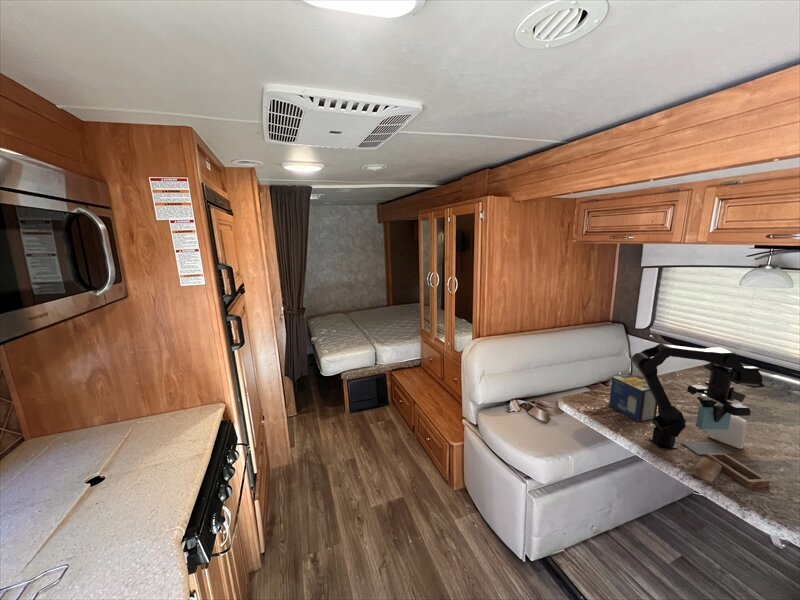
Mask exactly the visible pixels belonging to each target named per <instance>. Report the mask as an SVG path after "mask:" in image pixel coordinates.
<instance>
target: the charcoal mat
mask: <svg viewBox="0 0 800 600" xmlns="http://www.w3.org/2000/svg"><path fill="white" fill-rule="evenodd" d="M681 445H683V447H685V448H687V449H688V450H690V451H691V452H692V453H694V454H696V455H697V456H698V457H699V456H701V457H702V456H703V457H704V456H705V454H706V453H726V454H727V455H729V456H730V455H732V454H733V453H732V452H730V451H729V450H727V449H726V448H724V447H722V446H720V445H719V444H718V443H716V442H715V441H697V442H681Z"/></svg>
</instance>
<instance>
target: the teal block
mask: <svg viewBox="0 0 800 600" xmlns="http://www.w3.org/2000/svg"><path fill="white" fill-rule="evenodd" d="M730 418H731V414H729V413H726V414H725V415H724V416H723V417H722V418H721V420H720V421H719V422H715V421H714V415H713V407H702V406H699V407H698V412H697V417H696V422H695V427H697V428H698V429H700V430H709V429H719V430H728V428H729V423H730Z"/></svg>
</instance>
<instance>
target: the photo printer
mask: <svg viewBox="0 0 800 600" xmlns="http://www.w3.org/2000/svg"><path fill="white" fill-rule="evenodd" d="M747 429H748V422H747V420H746V419H744V418H742V416H734V415H731V418H730V423H729V428H728V430H719V429H708V431H707V436H708V438H711V439H713V440H716V441H718V442H721V443H723V444H726V445H729V446H731V447H733V448H737V449H741V450H742V449H743V448H744V445H745V440H746V433H747Z"/></svg>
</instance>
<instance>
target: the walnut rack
mask: <svg viewBox="0 0 800 600" xmlns="http://www.w3.org/2000/svg"><path fill="white" fill-rule="evenodd" d="M704 457H705V458H707V459H710V460H712V461H714V462H717V463H719V464H720V466H722V470H721V471H723V472H724V473H726V474H727V475H729V476H730V477H732V478H733V479H735V480H737V481H738V482H739V483H741V484H742V485H744V486H745V487H747V488H758V487H759V488H760V487H761V488H764V487H766V488H767V487H769V486H770V483H771V482H770V480H769V479H767V478H766V477H764V476H762V475H761V474H759V473H757V472H756V471H754V470H753V469H751V468H750V467H748V466H747V465H745V464H743V463H741V462H740V461H739V460H737V459H736V458H733V457H732V456H730V454H729V455H727V454H726V453H706V454H705V455H704ZM722 460H723V461H722ZM725 462H727V464H730V465H731V466H733V467H734V468H735V469H737V470H739V472H738V471H736V470H735V469H734V468H732V467H731V466H730V465H727V464H726V463H725ZM740 471H741V472H742V473H743V474H745V475H747V476H748V477H750V478H751V479H749V478H747V477H746V476H744V475H743V474H741V473H740Z"/></svg>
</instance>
